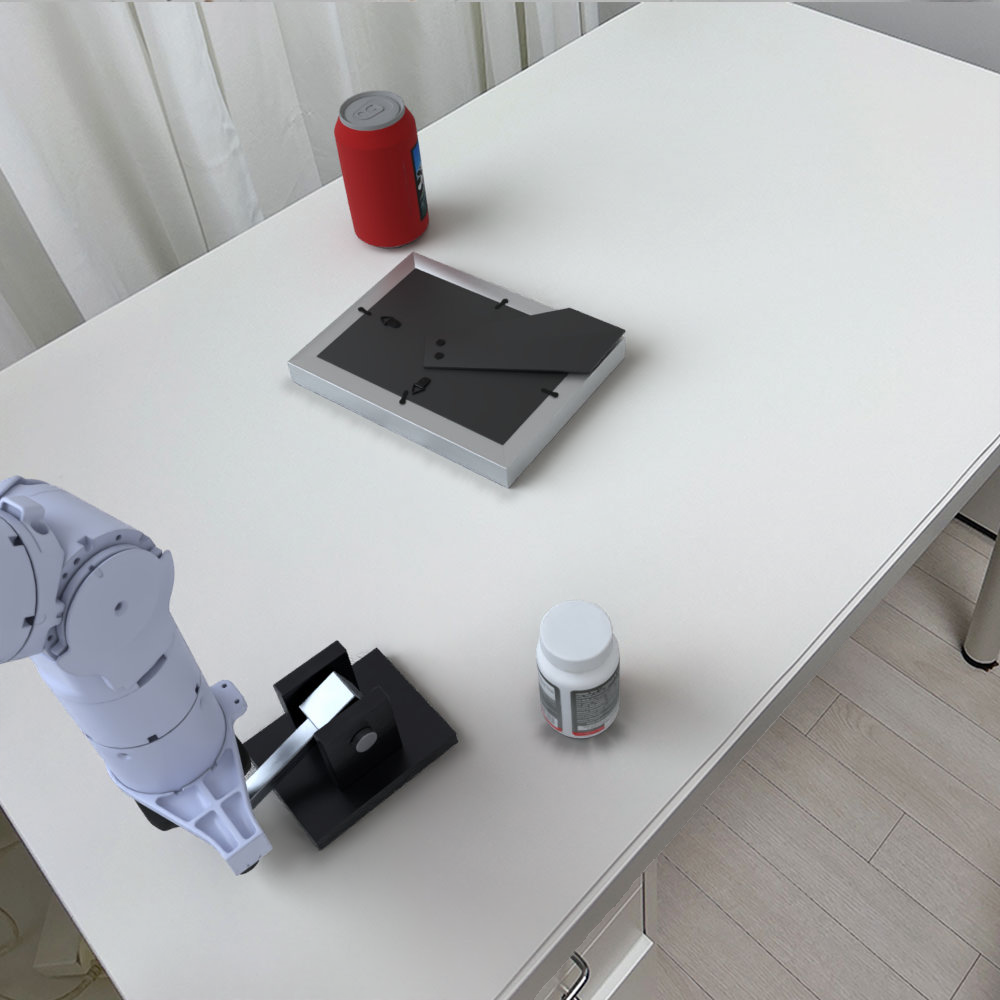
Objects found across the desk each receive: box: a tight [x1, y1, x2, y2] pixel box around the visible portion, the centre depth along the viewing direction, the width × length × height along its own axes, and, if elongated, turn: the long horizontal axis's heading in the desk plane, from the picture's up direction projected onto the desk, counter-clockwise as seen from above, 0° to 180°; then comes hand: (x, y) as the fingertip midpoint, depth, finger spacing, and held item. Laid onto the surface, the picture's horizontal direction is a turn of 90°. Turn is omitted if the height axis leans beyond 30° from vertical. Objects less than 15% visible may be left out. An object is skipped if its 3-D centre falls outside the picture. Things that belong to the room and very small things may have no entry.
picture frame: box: [286, 251, 626, 489], centre depth 85 cm, size 16×3×21 cm
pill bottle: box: [535, 599, 621, 739], centre depth 63 cm, size 5×5×8 cm
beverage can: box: [333, 90, 430, 249], centre depth 93 cm, size 7×7×12 cm
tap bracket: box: [242, 639, 459, 852], centre depth 63 cm, size 10×8×7 cm
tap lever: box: [239, 671, 363, 876], centre depth 61 cm, size 11×6×2 cm, turn 130°
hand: (217, 817), depth 60 cm, fingers closed, pressing on tap lever
